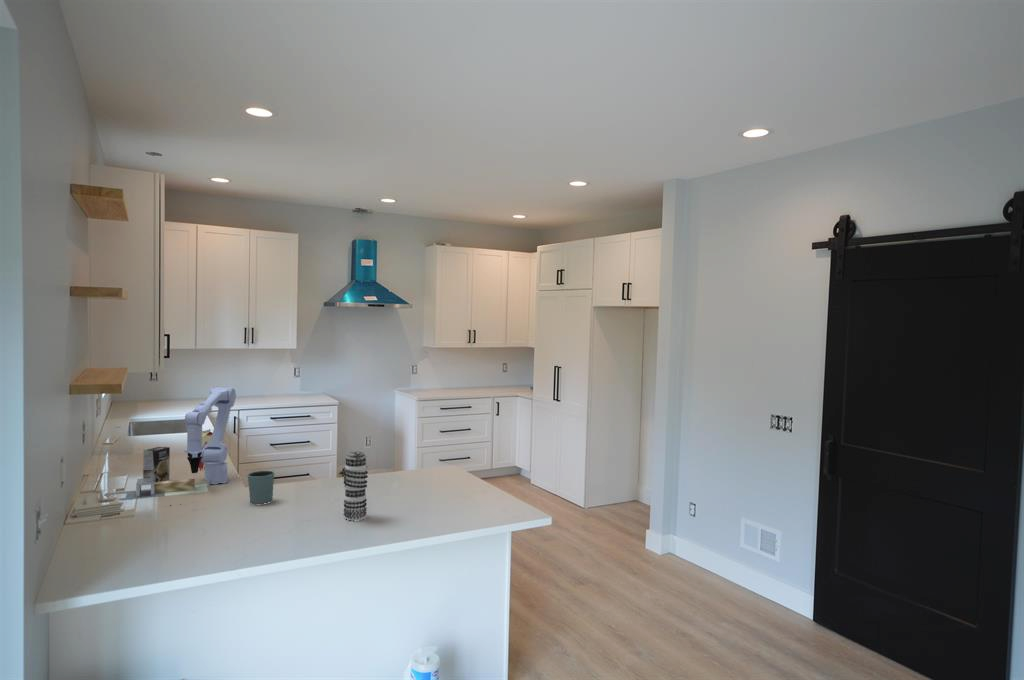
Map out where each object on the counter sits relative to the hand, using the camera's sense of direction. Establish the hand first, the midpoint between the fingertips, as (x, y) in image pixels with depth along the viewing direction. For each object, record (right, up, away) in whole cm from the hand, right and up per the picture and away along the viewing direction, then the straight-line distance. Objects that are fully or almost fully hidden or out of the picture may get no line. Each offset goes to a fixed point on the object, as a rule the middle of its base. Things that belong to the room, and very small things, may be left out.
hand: (194, 470), depth 264 cm
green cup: (+34, -11, -12) cm, 37 cm away
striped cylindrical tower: (+77, -12, -30) cm, 84 cm away
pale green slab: (-13, -9, -6) cm, 17 cm away
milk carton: (-16, -8, +44) cm, 47 cm away
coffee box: (-24, -9, +13) cm, 28 cm away
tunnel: (-16, -8, -8) cm, 20 cm away
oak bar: (-7, -8, -3) cm, 11 cm away
